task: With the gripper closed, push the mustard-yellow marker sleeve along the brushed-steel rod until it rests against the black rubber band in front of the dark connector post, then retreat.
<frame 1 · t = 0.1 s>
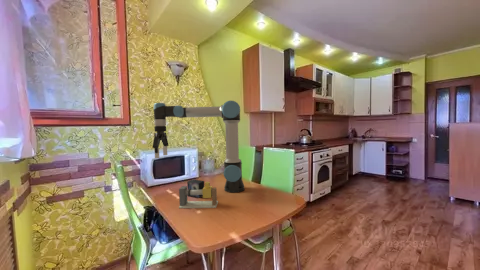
hand: (161, 156, 140), 28 cm above the table, fingers open, 13 cm apart
rail: (199, 205, 124), on the table
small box: (196, 196, 141), on the table
sleeve: (207, 189, 123), point 10 cm above the table, slide at 0.0 cm
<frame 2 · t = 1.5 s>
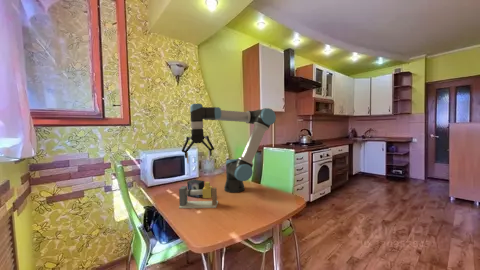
hand: (198, 162, 129), 25 cm above the table, fingers open, 13 cm apart
nothing on the table moved.
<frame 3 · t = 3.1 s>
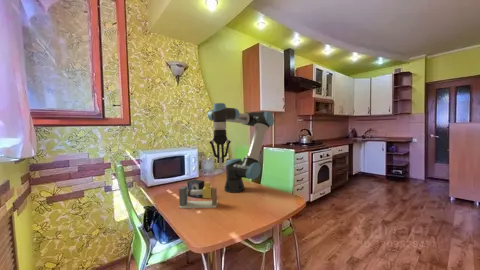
hand: (220, 168, 123), 22 cm above the table, fingers closed
nothing on the table moved.
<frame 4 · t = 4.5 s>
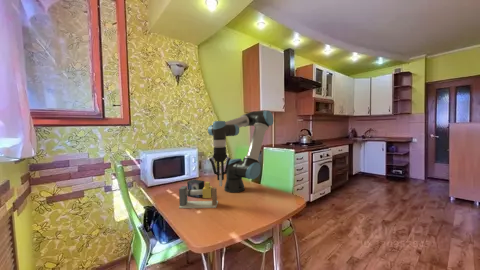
hand: (220, 185, 123), 12 cm above the table, fingers closed
nothing on the table moved.
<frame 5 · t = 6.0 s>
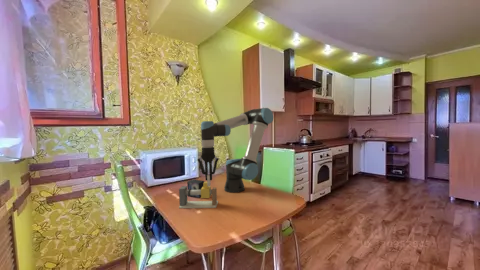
hand: (209, 185, 123), 12 cm above the table, fingers closed
sleeve: (206, 189, 123), point 10 cm above the table, slide at 1.0 cm, touching gripper
everything else where it was.
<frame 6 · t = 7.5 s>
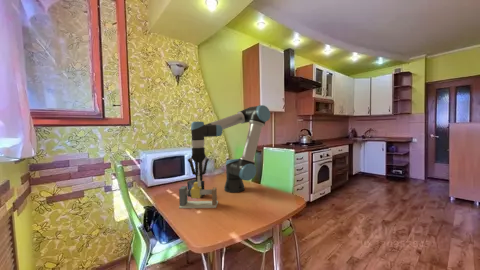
hand: (199, 185, 123), 12 cm above the table, fingers closed
sleeve: (196, 189, 123), point 10 cm above the table, slide at 6.9 cm, touching gripper
everything else where it was.
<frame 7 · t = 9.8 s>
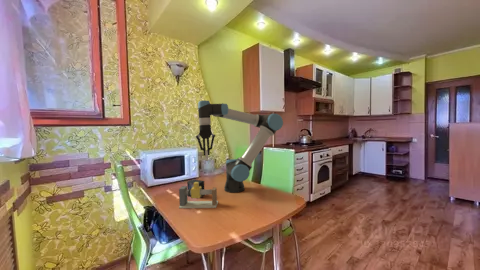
hand: (207, 160, 134), 26 cm above the table, fingers closed
sleeve: (196, 189, 123), point 10 cm above the table, slide at 6.9 cm
everything else where it was.
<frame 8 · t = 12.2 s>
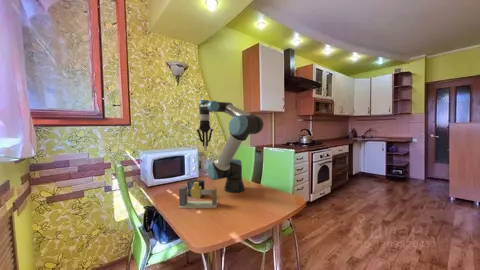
hand: (205, 150, 158), 29 cm above the table, fingers closed
nothing on the table moved.
at the end: sleeve slide at 6.9 cm; the gripper is holding nothing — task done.
